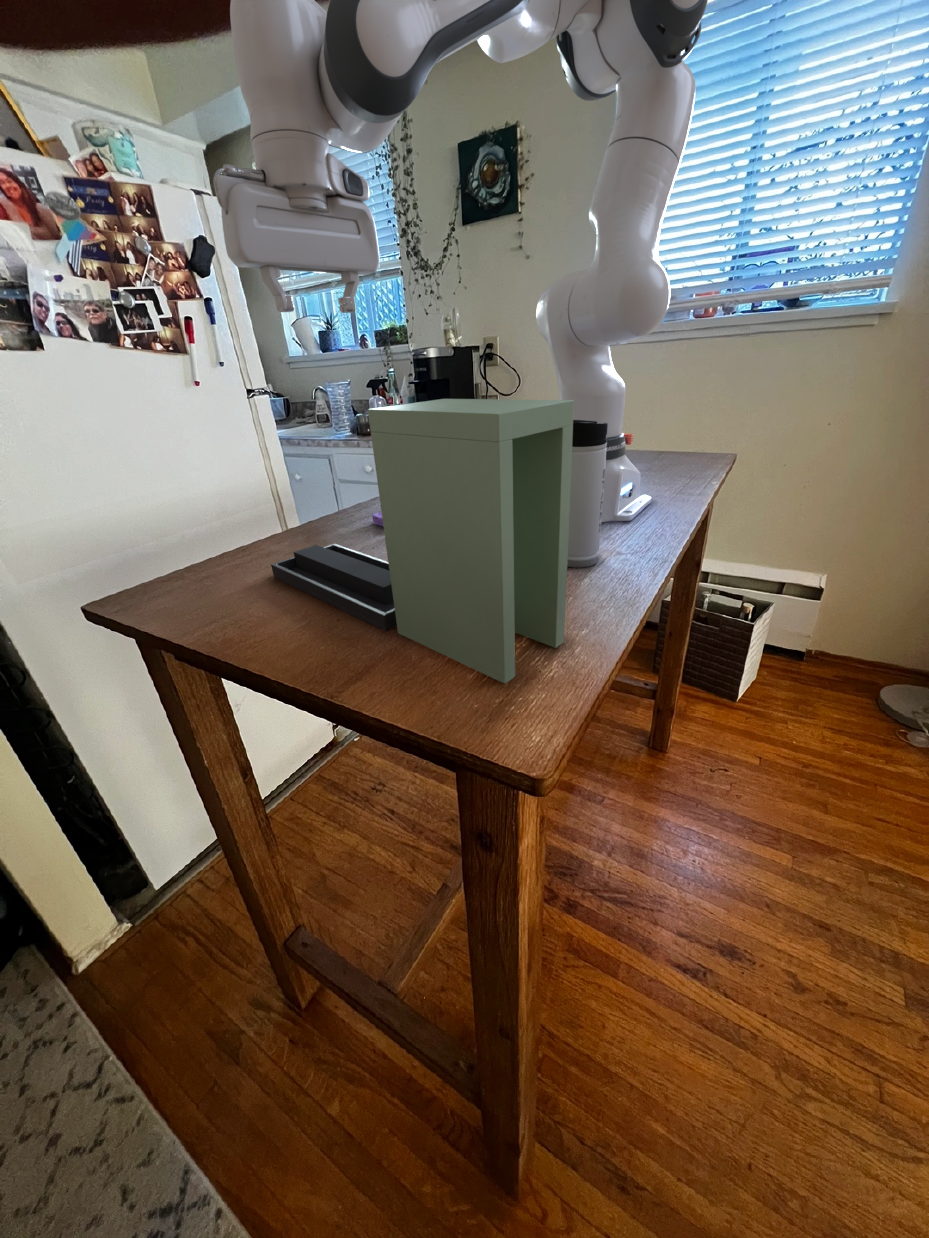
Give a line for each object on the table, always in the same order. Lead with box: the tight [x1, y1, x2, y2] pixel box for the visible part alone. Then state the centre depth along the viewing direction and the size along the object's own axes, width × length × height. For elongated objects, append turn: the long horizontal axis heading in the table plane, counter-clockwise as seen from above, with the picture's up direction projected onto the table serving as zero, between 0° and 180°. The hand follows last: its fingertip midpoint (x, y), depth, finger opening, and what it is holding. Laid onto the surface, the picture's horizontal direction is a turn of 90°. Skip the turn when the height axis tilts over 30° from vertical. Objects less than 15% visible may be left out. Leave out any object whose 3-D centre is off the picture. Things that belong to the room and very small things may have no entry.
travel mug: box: [567, 420, 608, 569], centre depth 70 cm, size 6×7×20 cm
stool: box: [367, 398, 574, 685], centre depth 50 cm, size 10×16×24 cm, turn 46°
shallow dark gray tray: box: [270, 543, 397, 632], centre depth 70 cm, size 11×27×2 cm, turn 46°
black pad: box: [293, 544, 394, 605], centre depth 71 cm, size 4×22×2 cm, turn 46°
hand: (318, 312), depth 66 cm, fingers open, 8 cm apart
